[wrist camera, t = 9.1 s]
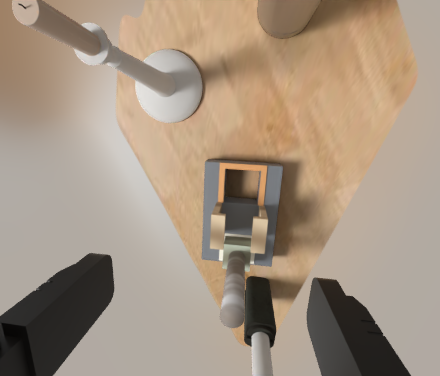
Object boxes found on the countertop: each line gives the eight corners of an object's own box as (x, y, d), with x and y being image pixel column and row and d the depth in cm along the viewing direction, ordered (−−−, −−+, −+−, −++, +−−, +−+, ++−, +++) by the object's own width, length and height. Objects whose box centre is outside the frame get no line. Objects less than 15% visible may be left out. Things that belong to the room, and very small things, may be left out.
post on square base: (225, 235, 45) (212, 298, 28) (251, 238, 45) (253, 303, 28) (224, 258, 46) (211, 331, 29) (249, 261, 46) (250, 336, 29)
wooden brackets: (216, 201, 44) (211, 214, 37) (264, 205, 43) (268, 219, 36) (215, 231, 45) (209, 248, 39) (261, 235, 44) (264, 254, 38)
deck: (208, 159, 46) (204, 161, 42) (279, 163, 45) (283, 166, 41) (205, 249, 51) (201, 259, 47) (269, 256, 50) (271, 267, 46)
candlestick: (125, 69, 44) (-110, -49, 15) (184, 37, 41) (41, -181, 12) (155, 133, 46) (1, 138, 17) (213, 106, 44) (147, 57, 15)
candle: (266, 298, 52) (283, 442, 28) (244, 294, 53) (242, 433, 29) (270, 278, 51) (290, 411, 27) (246, 275, 51) (246, 403, 27)
